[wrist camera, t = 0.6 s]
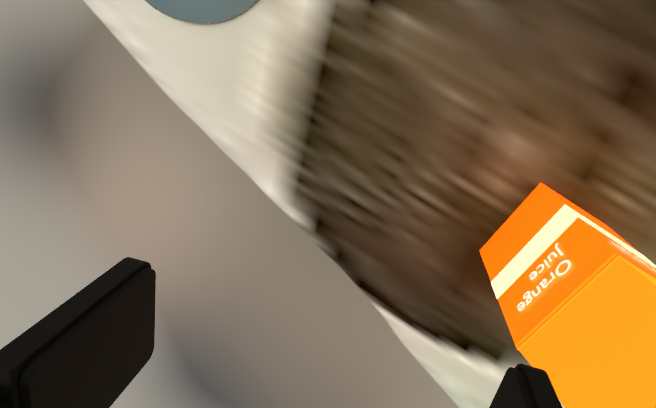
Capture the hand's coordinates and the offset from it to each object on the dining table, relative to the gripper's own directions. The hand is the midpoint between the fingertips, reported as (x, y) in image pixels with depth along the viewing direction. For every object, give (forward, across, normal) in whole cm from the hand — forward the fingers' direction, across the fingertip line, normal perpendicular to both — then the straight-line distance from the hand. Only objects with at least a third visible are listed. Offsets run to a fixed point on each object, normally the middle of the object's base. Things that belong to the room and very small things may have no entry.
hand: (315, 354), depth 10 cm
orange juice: (+30, -17, +6) cm, 35 cm away
